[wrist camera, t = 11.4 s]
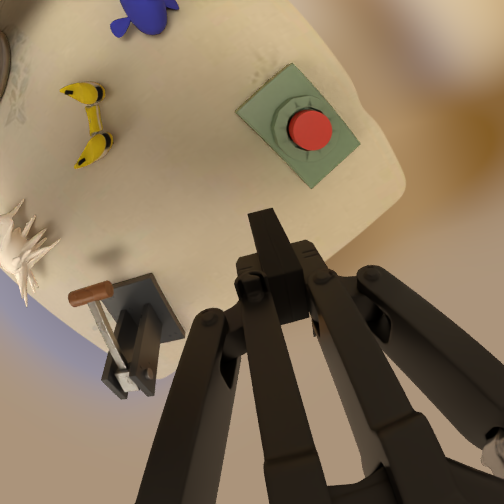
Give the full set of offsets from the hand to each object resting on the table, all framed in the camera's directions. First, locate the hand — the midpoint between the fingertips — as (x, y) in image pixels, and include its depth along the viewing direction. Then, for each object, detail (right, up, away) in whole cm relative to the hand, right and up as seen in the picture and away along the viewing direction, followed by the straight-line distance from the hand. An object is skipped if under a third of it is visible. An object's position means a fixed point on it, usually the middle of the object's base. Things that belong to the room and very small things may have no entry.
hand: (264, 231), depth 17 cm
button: (+5, +11, +10) cm, 16 cm away
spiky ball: (-31, +1, +14) cm, 34 cm away
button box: (+4, +13, +13) cm, 19 cm away
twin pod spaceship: (-19, +14, +9) cm, 25 cm away
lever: (-17, -11, +13) cm, 24 cm away
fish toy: (-14, +27, +2) cm, 30 cm away
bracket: (-17, -10, +23) cm, 30 cm away
